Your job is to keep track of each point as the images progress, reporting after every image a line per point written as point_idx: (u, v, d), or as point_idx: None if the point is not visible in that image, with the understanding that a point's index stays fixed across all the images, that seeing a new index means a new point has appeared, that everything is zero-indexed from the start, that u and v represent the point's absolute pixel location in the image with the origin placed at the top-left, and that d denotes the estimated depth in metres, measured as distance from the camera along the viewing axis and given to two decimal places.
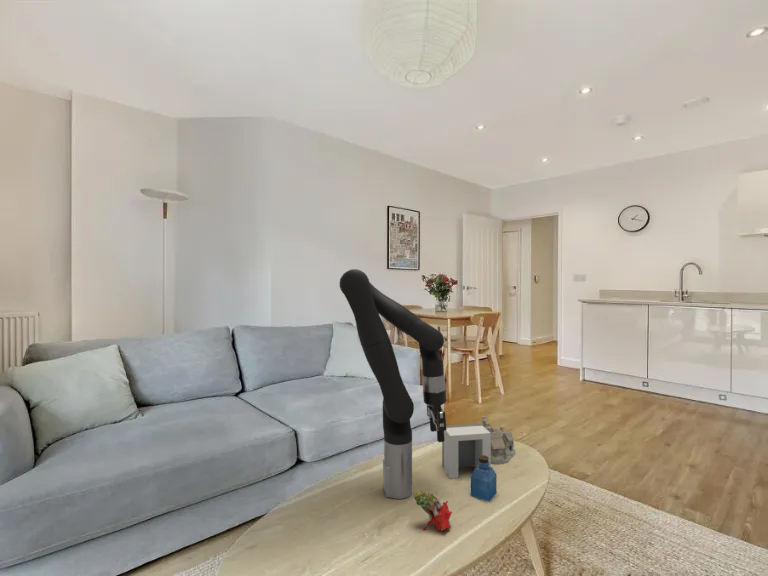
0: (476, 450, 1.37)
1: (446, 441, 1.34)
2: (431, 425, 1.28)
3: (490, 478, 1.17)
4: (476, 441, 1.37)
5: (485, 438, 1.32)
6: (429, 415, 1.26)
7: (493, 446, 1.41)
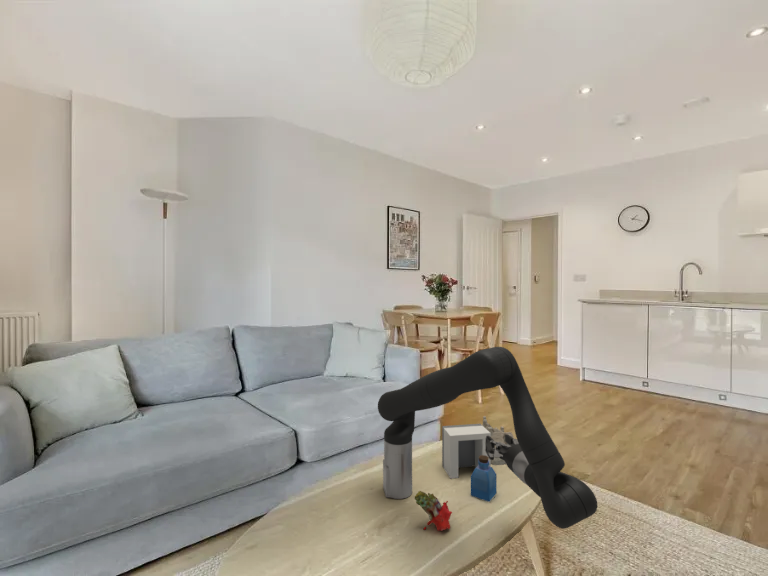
0: (476, 450, 1.37)
1: (446, 441, 1.34)
2: (508, 438, 1.09)
3: (490, 478, 1.17)
4: (476, 441, 1.37)
5: (485, 438, 1.32)
6: (513, 442, 1.05)
7: None
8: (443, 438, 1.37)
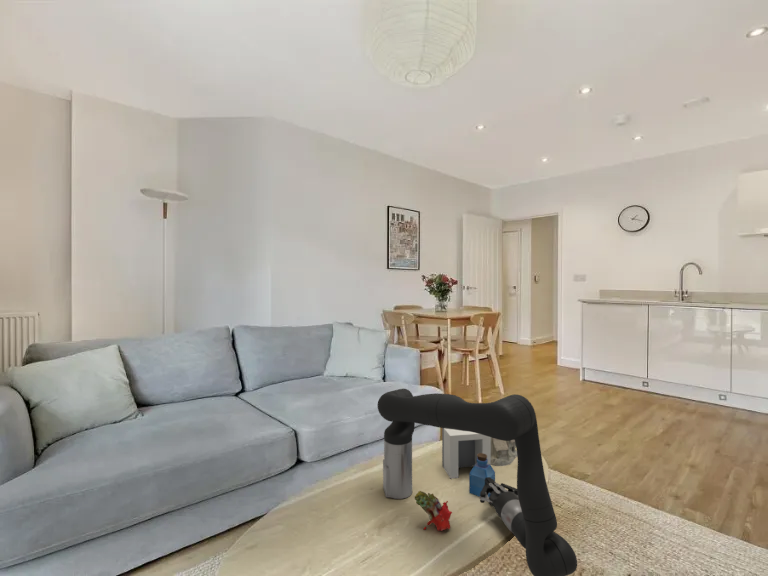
0: (476, 450, 1.37)
1: (446, 441, 1.34)
2: None
3: (489, 476, 1.19)
4: (476, 441, 1.37)
5: (485, 438, 1.32)
6: (499, 487, 1.10)
7: (496, 447, 1.40)
8: (443, 438, 1.37)
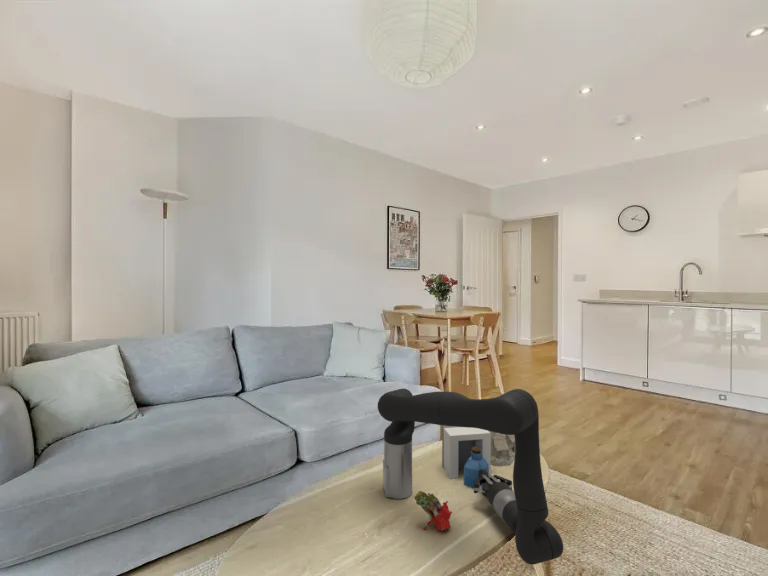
0: None
1: (446, 441, 1.34)
2: None
3: (483, 468, 1.24)
4: (476, 441, 1.37)
5: (485, 438, 1.32)
6: (492, 478, 1.15)
7: (496, 448, 1.40)
8: (443, 438, 1.37)
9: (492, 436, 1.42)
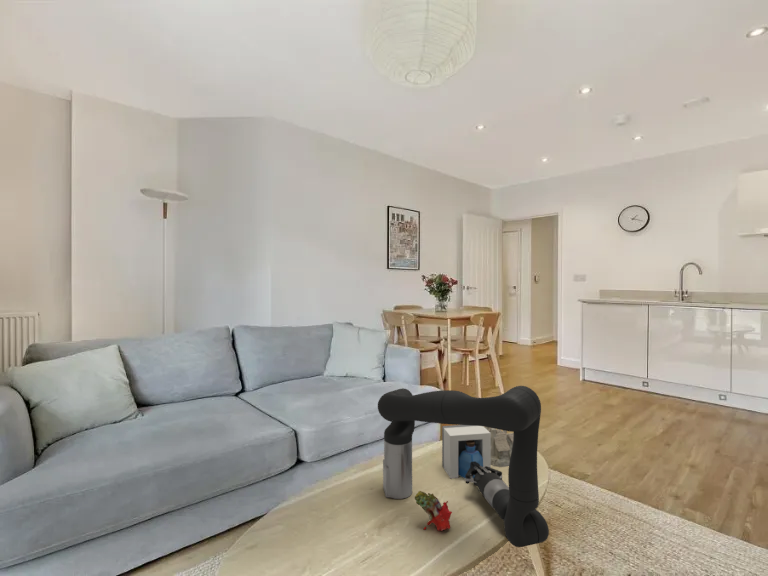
0: (476, 450, 1.37)
1: (446, 441, 1.34)
2: None
3: None
4: (476, 441, 1.37)
5: (485, 438, 1.32)
6: (483, 469, 1.21)
7: (498, 448, 1.40)
8: (443, 438, 1.37)
9: (493, 436, 1.42)
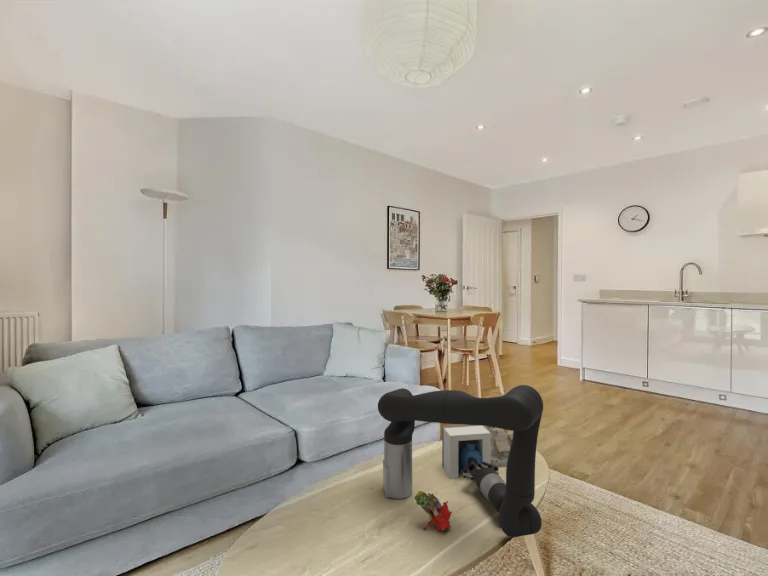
0: None
1: (446, 441, 1.34)
2: None
3: None
4: (476, 441, 1.37)
5: (485, 438, 1.32)
6: (480, 465, 1.24)
7: (498, 448, 1.39)
8: (443, 438, 1.37)
9: (494, 437, 1.42)
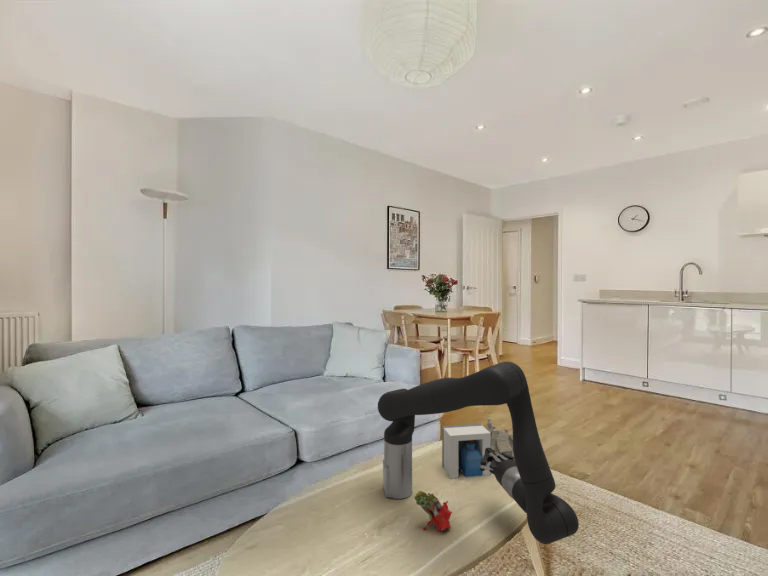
0: None
1: (446, 441, 1.34)
2: None
3: (470, 458, 1.31)
4: (476, 441, 1.37)
5: (485, 438, 1.32)
6: (499, 456, 1.10)
7: (500, 449, 1.39)
8: (443, 438, 1.37)
9: (495, 437, 1.41)
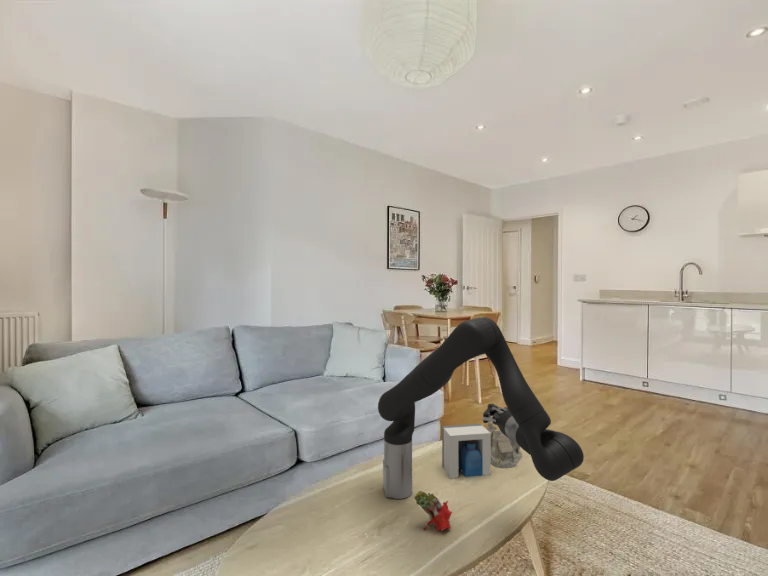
0: None
1: (446, 441, 1.34)
2: None
3: (470, 458, 1.31)
4: (476, 441, 1.37)
5: (485, 438, 1.32)
6: (502, 409, 1.08)
7: (501, 449, 1.39)
8: (443, 438, 1.37)
9: (496, 438, 1.41)
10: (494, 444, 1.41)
